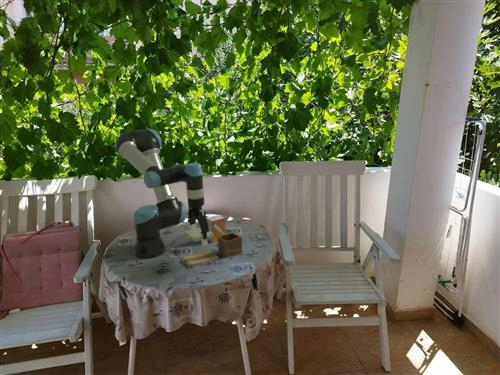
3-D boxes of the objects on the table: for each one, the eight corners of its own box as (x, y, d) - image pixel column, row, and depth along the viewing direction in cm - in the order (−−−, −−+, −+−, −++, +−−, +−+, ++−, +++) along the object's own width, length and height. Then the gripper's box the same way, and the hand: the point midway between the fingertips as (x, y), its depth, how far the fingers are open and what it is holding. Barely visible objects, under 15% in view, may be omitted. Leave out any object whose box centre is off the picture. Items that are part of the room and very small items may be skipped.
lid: (184, 237, 186) (184, 231, 185) (203, 232, 191) (203, 226, 190) (194, 244, 177) (193, 238, 176) (213, 239, 182) (213, 233, 181)
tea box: (218, 253, 193) (217, 236, 191) (234, 248, 198) (233, 232, 195) (226, 259, 187) (225, 242, 184) (242, 254, 191) (241, 237, 189)
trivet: (183, 260, 187) (182, 257, 187) (209, 252, 194) (209, 249, 194) (191, 268, 179) (191, 265, 179) (218, 260, 186) (218, 257, 186)
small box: (213, 244, 204) (211, 221, 200) (207, 240, 209) (205, 217, 205) (226, 240, 208) (225, 217, 204) (220, 236, 213) (219, 214, 210)
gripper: (214, 201, 170) (217, 247, 176) (192, 189, 189) (196, 231, 195) (199, 205, 166) (202, 251, 172) (178, 192, 186) (182, 235, 192)
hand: (199, 241), depth 184 cm, fingers closed on lid, 11 cm apart
